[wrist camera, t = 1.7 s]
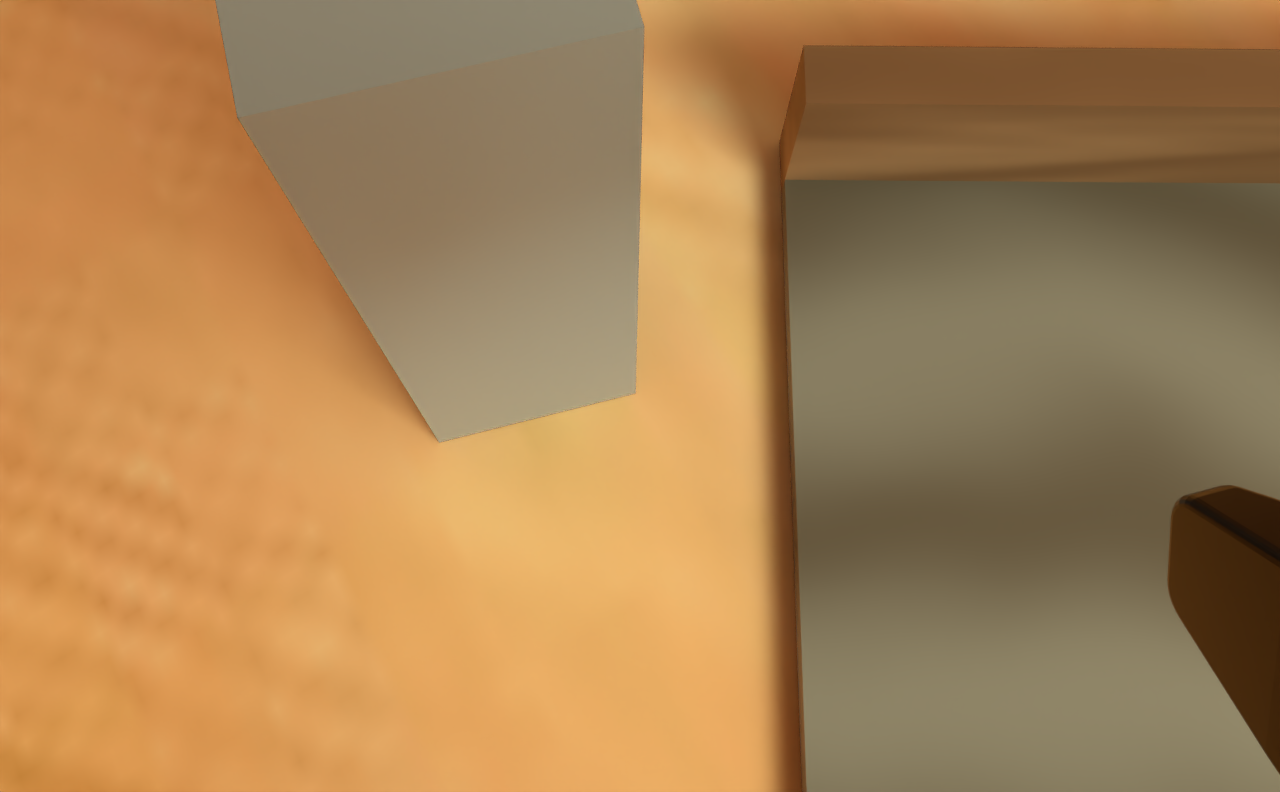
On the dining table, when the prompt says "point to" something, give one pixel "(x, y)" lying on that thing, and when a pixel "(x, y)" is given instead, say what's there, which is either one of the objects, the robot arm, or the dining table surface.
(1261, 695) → the robot arm
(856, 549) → the tray
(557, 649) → the dining table surface
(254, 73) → the slate block
